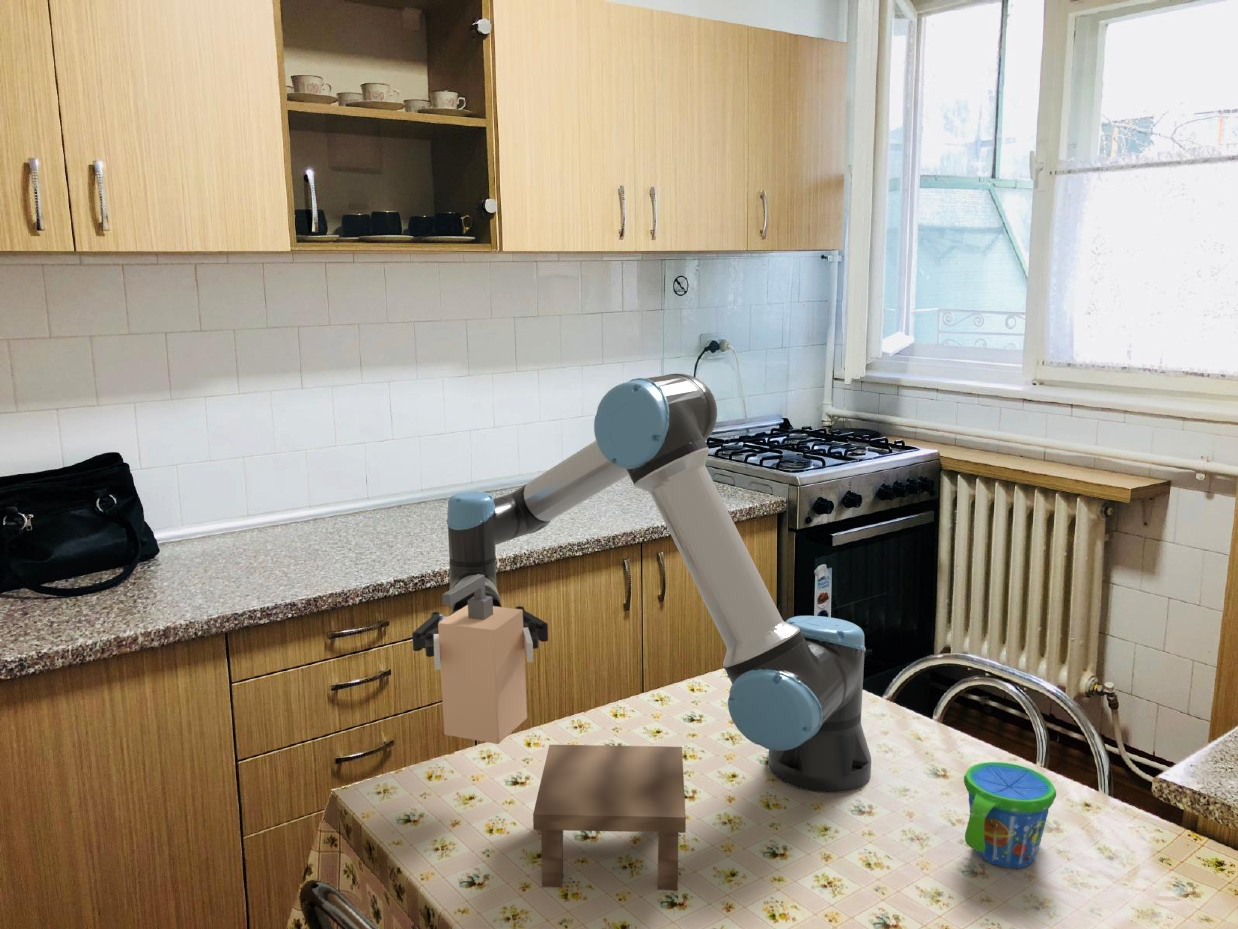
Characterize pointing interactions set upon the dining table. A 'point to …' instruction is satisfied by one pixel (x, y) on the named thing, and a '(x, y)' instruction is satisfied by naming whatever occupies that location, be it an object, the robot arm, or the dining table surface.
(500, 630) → the soap dispenser
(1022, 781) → the snack cup
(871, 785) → the dining table surface
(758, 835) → the dining table surface
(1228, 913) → the dining table surface
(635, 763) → the walnut stool
